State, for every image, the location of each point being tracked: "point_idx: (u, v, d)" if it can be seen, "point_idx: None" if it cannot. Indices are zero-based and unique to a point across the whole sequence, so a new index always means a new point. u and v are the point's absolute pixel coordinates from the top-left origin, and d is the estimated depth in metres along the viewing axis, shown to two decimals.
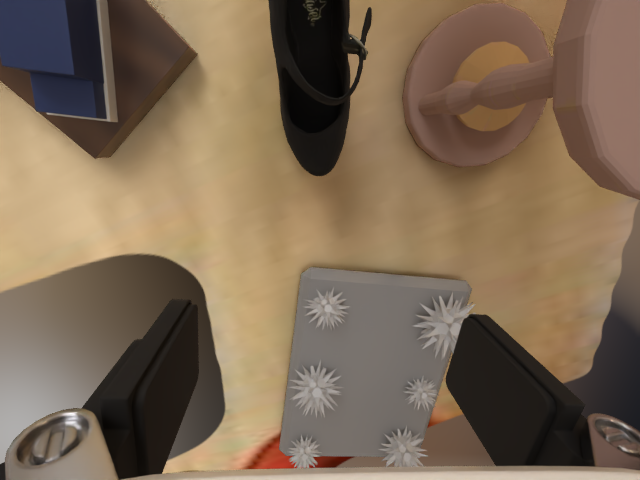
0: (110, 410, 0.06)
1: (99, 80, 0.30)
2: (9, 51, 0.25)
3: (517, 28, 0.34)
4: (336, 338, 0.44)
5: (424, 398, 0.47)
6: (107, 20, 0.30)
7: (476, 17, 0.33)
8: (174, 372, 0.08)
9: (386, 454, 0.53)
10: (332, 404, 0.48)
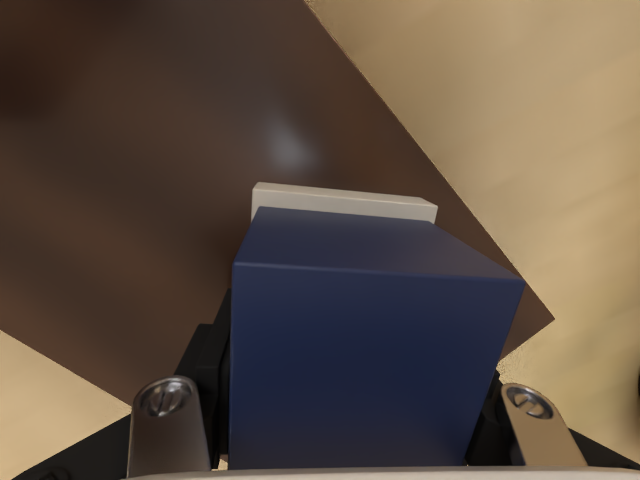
0: (203, 377, 0.07)
1: None
2: None
3: None
4: None
5: None
6: None
7: None
8: None
9: None
10: None
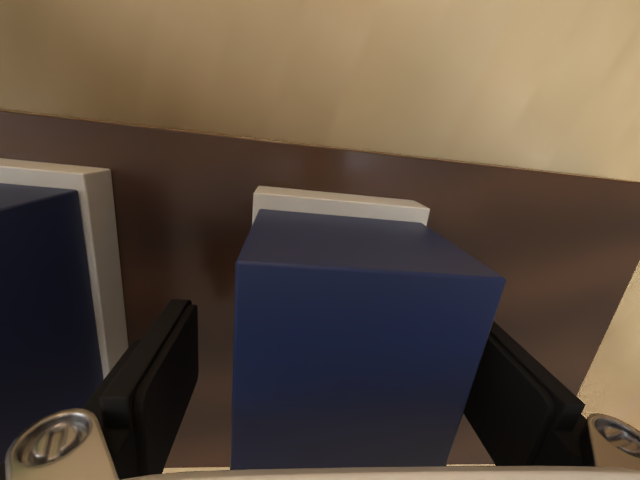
0: (110, 410, 0.06)
1: None
2: None
3: None
4: None
5: None
6: None
7: None
8: (174, 372, 0.08)
9: None
10: None
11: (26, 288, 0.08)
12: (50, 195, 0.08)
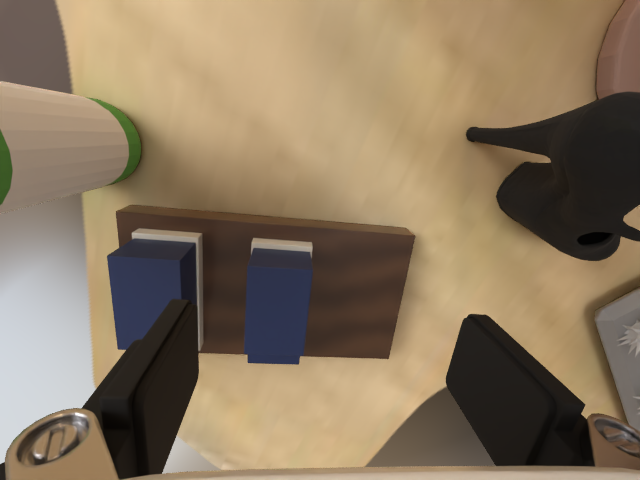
0: (110, 410, 0.06)
1: None
2: (253, 344, 0.28)
3: None
4: None
5: None
6: None
7: None
8: (174, 372, 0.08)
9: None
10: None
11: (188, 272, 0.28)
12: (191, 246, 0.28)
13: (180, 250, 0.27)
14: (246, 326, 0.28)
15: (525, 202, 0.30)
